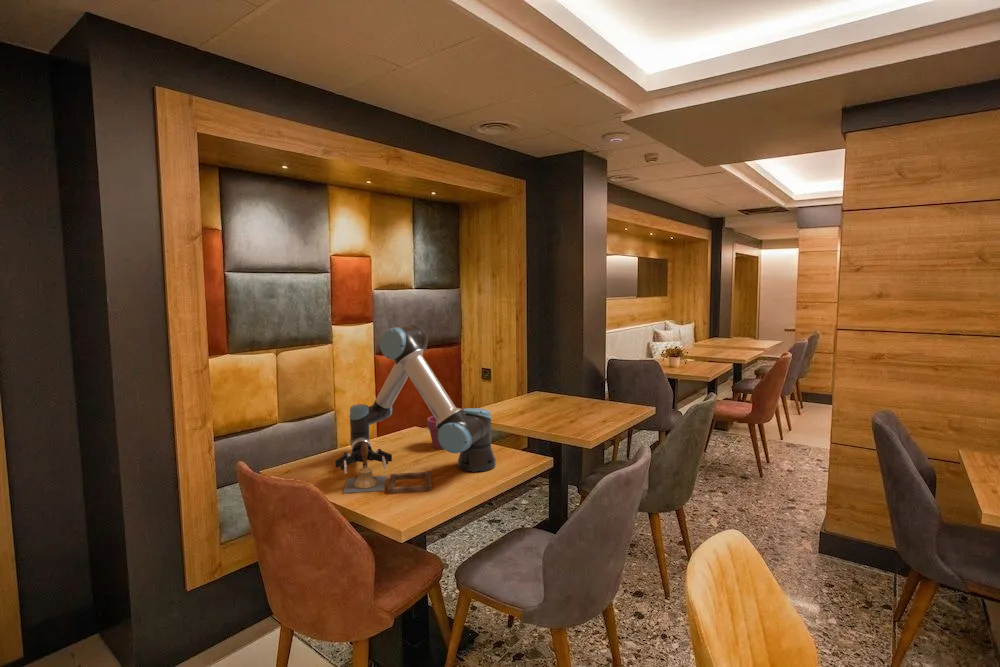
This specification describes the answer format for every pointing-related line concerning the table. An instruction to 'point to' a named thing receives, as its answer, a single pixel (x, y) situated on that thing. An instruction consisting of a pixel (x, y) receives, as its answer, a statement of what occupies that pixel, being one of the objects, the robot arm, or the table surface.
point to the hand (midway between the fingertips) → (365, 467)
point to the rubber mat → (379, 487)
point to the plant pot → (433, 432)
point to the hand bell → (365, 471)
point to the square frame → (408, 476)
